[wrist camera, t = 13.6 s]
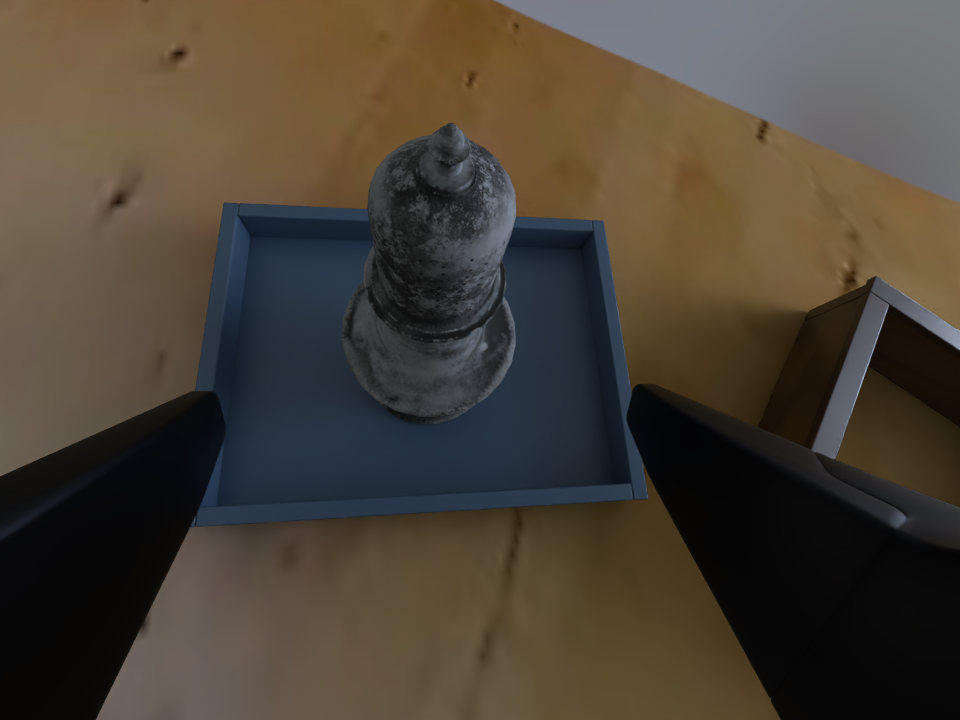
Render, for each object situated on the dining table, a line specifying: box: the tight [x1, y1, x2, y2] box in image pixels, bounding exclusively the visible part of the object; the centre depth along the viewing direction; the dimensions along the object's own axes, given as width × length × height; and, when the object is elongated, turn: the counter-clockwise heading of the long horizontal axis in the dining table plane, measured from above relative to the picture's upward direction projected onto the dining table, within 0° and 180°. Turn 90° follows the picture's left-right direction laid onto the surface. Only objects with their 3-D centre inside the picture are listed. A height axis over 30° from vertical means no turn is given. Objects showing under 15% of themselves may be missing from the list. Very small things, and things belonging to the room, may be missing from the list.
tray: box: [190, 203, 648, 527], centre depth 17 cm, size 16×12×2 cm
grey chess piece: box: [342, 123, 516, 424], centre depth 12 cm, size 6×6×12 cm
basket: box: [758, 276, 960, 459], centre depth 18 cm, size 13×13×4 cm
